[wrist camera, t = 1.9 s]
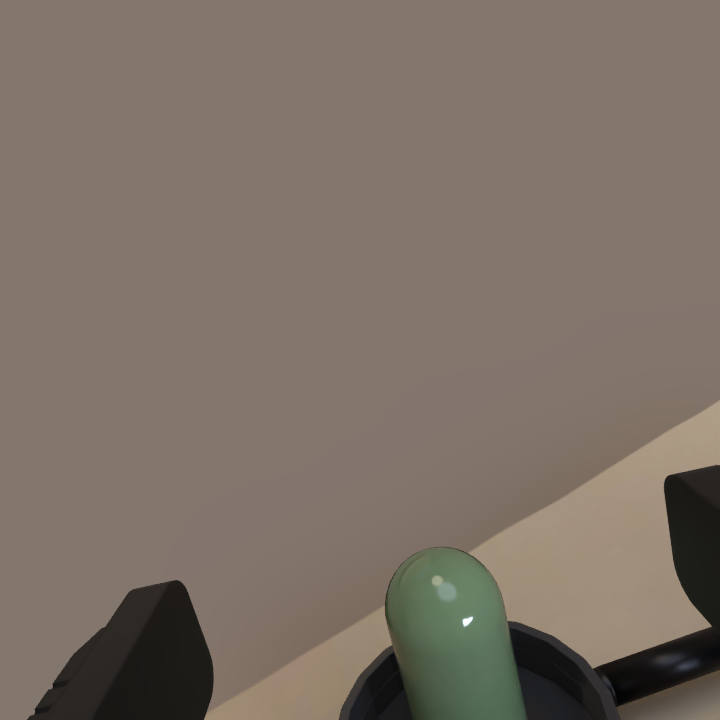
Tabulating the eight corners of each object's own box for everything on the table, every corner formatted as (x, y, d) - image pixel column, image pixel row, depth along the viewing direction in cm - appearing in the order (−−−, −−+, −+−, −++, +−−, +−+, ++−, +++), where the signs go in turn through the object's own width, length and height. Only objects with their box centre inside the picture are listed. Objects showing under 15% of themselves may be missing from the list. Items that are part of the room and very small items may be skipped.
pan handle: (602, 722, 23) (597, 692, 23) (582, 693, 25) (577, 664, 24) (777, 658, 24) (775, 629, 24) (746, 634, 26) (744, 606, 25)
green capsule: (445, 840, 21) (386, 616, 19) (414, 733, 26) (364, 544, 23) (558, 797, 21) (514, 574, 19) (507, 700, 26) (467, 512, 24)
